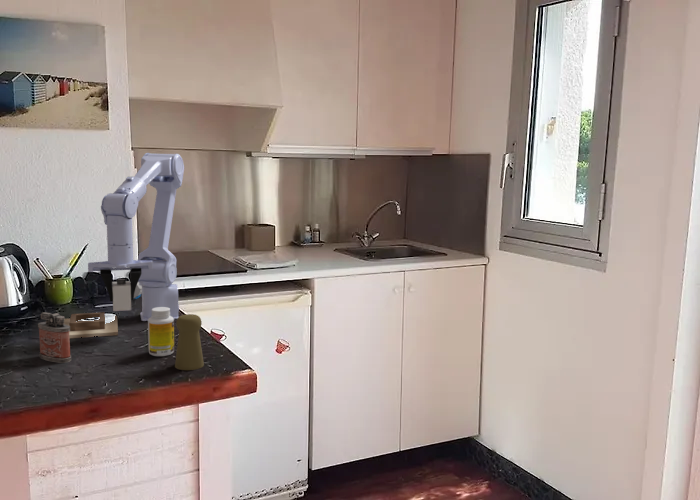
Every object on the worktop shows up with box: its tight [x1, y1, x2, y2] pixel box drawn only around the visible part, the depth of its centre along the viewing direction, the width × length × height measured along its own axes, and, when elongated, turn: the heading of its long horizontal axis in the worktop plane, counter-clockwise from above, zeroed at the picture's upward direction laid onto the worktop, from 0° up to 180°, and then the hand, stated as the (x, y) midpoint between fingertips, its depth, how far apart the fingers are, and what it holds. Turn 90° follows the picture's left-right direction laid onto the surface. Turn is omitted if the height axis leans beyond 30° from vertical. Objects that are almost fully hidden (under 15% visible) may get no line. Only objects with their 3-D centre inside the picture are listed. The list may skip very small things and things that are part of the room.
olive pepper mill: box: [174, 313, 205, 371], centre depth 141 cm, size 6×6×11 cm
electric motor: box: [130, 281, 142, 300], centre depth 200 cm, size 7×5×5 cm
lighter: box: [37, 311, 72, 364], centre depth 143 cm, size 8×3×10 cm, turn 65°
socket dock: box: [64, 311, 119, 339], centre depth 167 cm, size 14×16×3 cm
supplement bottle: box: [147, 307, 175, 357], centre depth 149 cm, size 6×6×10 cm
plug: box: [112, 278, 132, 312], centre depth 160 cm, size 4×5×7 cm
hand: (121, 299), depth 161 cm, fingers closed on plug, 4 cm apart
